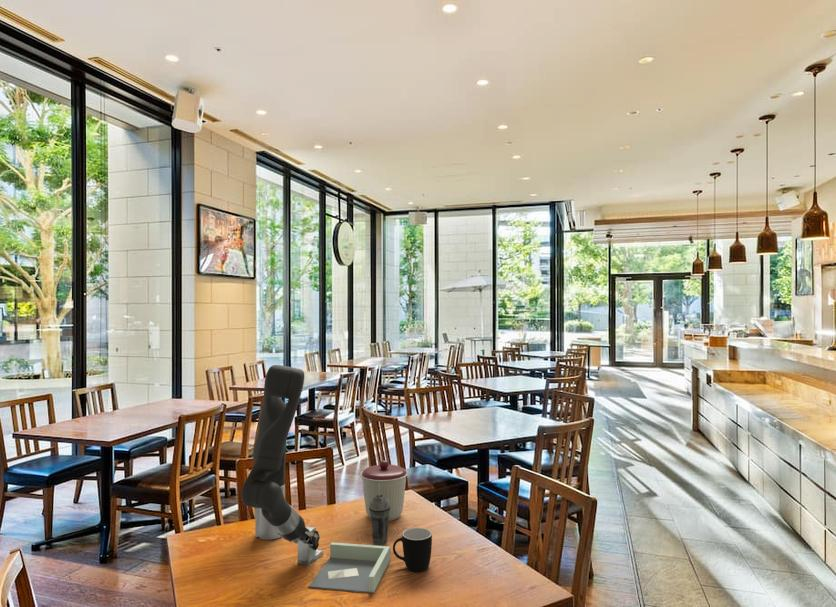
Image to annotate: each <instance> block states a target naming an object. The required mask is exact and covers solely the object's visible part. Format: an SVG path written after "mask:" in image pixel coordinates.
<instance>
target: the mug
mask: <svg viewBox="0 0 836 607" xmlns="http://www.w3.org/2000/svg"><path fill="white" fill-rule="evenodd" d="M399 542H401V543H402V550H403V552H402V553H403V556H401V555H400V554H398V552H397V550H396V546H397V543H399ZM432 545H433V533H432V531H431V530H430V529H428V528H424V527H410V528H408V529H407V528H406V529H405V530H404V531H403V532H402V535H401V537H399V538H397V539H396V540H395V541H394V542H393V545H392V553H393V555H394V556H395V557H396V558H397V559H399V560H402V561H403V562H404V565H405V566H406V569H407V570H408V571H410V572H413V573H422V572H425V571H427V569H429V566H430V564H431V563H430V562H431V559H432V557H431V556H432Z"/></svg>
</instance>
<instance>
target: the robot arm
mask: <svg viewBox="0 0 836 607" xmlns="http://www.w3.org/2000/svg"><path fill="white" fill-rule="evenodd" d="M264 378H265V380H264V384H263V385H264V386H263V400H262V405H261V406H262V407H261V411H260V415H259V420H258V430H257V435H256V438H255V441H254V444H253V449H252V460H253V463H254V464H253V466H252V468H251V469H250V472H249V474H248V476H247V477H246V479H245V482H244V483H243V485H242V489H241V492H240V497H241V501H242V504H243V505H244V506H245V507H248V508H255V509H254V510H255V512H254V513H255V514H254V516H255V518H254V520H255V524H254V525H255V526H254V527H255V528H254V530H255V532H254V534H255V535H254V536H255V538H258V537H259V538H258V539H260V540H263V541H264V540H265V541H270V540H276V539H280V538H283V539H284V540H286V541H288V542H290V543H294V544H297V540H299V541H301V542H303V543H304V544H308V545H310V546H311V547H312V548H313V550H319V545H320V544H319V542H320V539H321V538H320V534H319V531H318V530H316V531H314V532H313V533H312V532H310V531H309V530H308V529H307V528H306V527H305V526H306V522H305V519H304V517H302V516H301V515H300V513H299V512H298V511H297V510H296V509H295V508H294V507H293V506H292V505H290V504H289V502H287V500H286V456H287V452H286V451H287V450H286V449H287V448H286V447H287V446H286V443H287V439H288V436H289V433H290V429H291V427H292V424H293V421H294V419H295V415H296V413H297V408H298V405H299V402H300V399H301V395H302V393H303V388H304V384H305V372H304V370H303V369H301V368H296V367H293V366H287V365H281V364H280V365H279V364H273V365H271V366H270V367H269V368H268V369H267V372H266V374H265V377H264ZM284 399H287V400H288V401H287V403H285V401H284ZM310 538H311V540H310ZM309 540H310V541H309Z"/></svg>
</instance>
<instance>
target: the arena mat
mask: <svg viewBox="0 0 836 607" xmlns="http://www.w3.org/2000/svg"><path fill="white" fill-rule="evenodd" d="M376 562H377V561H368V560H355V559H342V558H330V557H329V559H327V561H326V563H325V564H324V565H323V566H322V568H321V569H320V570H319V571H318V573H317V574H316V575H315V577H314V579H313V580H312V581H311V582H310V584H309V585H308V589H320V590H321V589H322V590H332V591H341V592H342V591H343V592H352V593H353V592H354V593H356V592H357V593H365V594H374V593H373V592H372V593H371V592H370V593H369V575H370V573H371V571H372V570H373V568H374V566H375V564H376ZM390 563H391V560H390V561H389V563H388V565H387V567H386V569H385V570H386V571H387V569H388V566H389V565H390ZM386 571H384V572H386ZM384 575H385V573H383V575H382V578H383V577H384ZM382 578H381V579H380V580H381V581H382ZM381 581H380V582H379V583H378V585H377V587H376V590H375V591H374V592H376V591H377V588H378V586H379V585H380V583H381Z"/></svg>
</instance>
